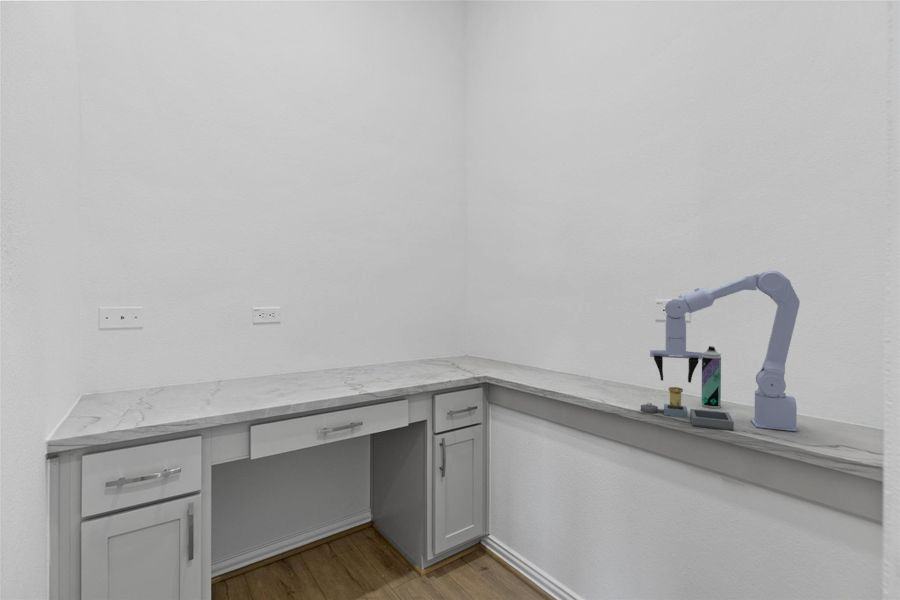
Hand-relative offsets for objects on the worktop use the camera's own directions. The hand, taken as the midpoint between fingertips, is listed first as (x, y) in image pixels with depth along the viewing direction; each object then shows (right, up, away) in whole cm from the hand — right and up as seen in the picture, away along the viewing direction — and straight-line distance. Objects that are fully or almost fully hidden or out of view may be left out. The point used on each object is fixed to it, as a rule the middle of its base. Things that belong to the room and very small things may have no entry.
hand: (675, 380), depth 140 cm
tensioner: (-3, -10, +2) cm, 11 cm away
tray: (+5, -11, -10) cm, 15 cm away
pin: (0, -10, 0) cm, 10 cm away
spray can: (+16, -10, +9) cm, 21 cm away
